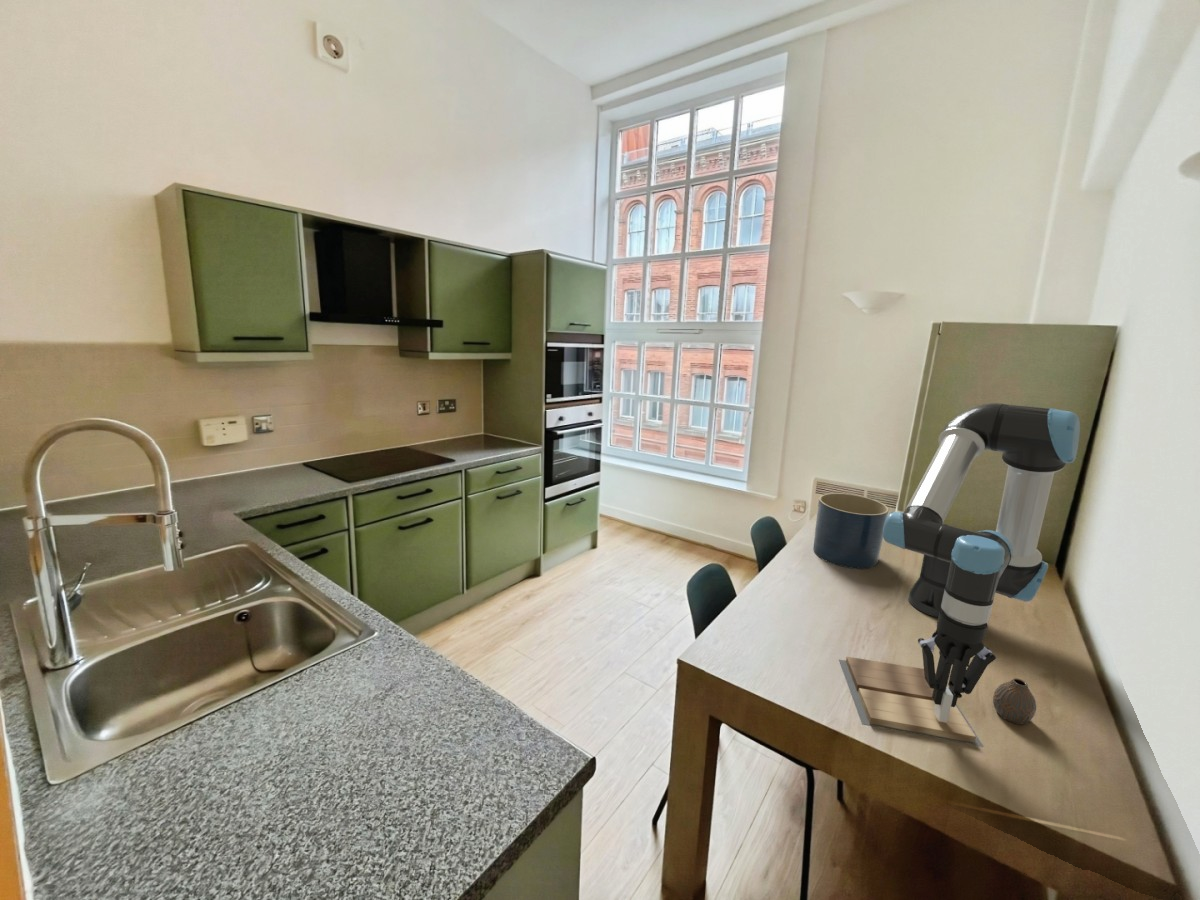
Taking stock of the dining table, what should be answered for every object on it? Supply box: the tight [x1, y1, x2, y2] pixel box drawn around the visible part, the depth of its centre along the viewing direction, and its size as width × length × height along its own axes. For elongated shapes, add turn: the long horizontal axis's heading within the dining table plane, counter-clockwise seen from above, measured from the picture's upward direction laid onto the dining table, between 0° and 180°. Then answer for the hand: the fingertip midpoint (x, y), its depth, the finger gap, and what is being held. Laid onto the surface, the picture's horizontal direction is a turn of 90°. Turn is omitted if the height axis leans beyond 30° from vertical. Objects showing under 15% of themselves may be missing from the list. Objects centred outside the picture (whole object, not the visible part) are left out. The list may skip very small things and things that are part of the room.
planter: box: [813, 492, 889, 570], centre depth 177 cm, size 22×22×20 cm
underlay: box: [838, 659, 984, 748], centre depth 109 cm, size 22×21×1 cm
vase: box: [992, 677, 1037, 725], centre depth 104 cm, size 7×7×9 cm
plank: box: [858, 688, 976, 743], centre depth 103 cm, size 19×9×2 cm, turn 77°
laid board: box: [845, 656, 936, 701], centre depth 113 cm, size 19×10×2 cm, turn 77°
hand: (940, 716), depth 100 cm, fingers closed
